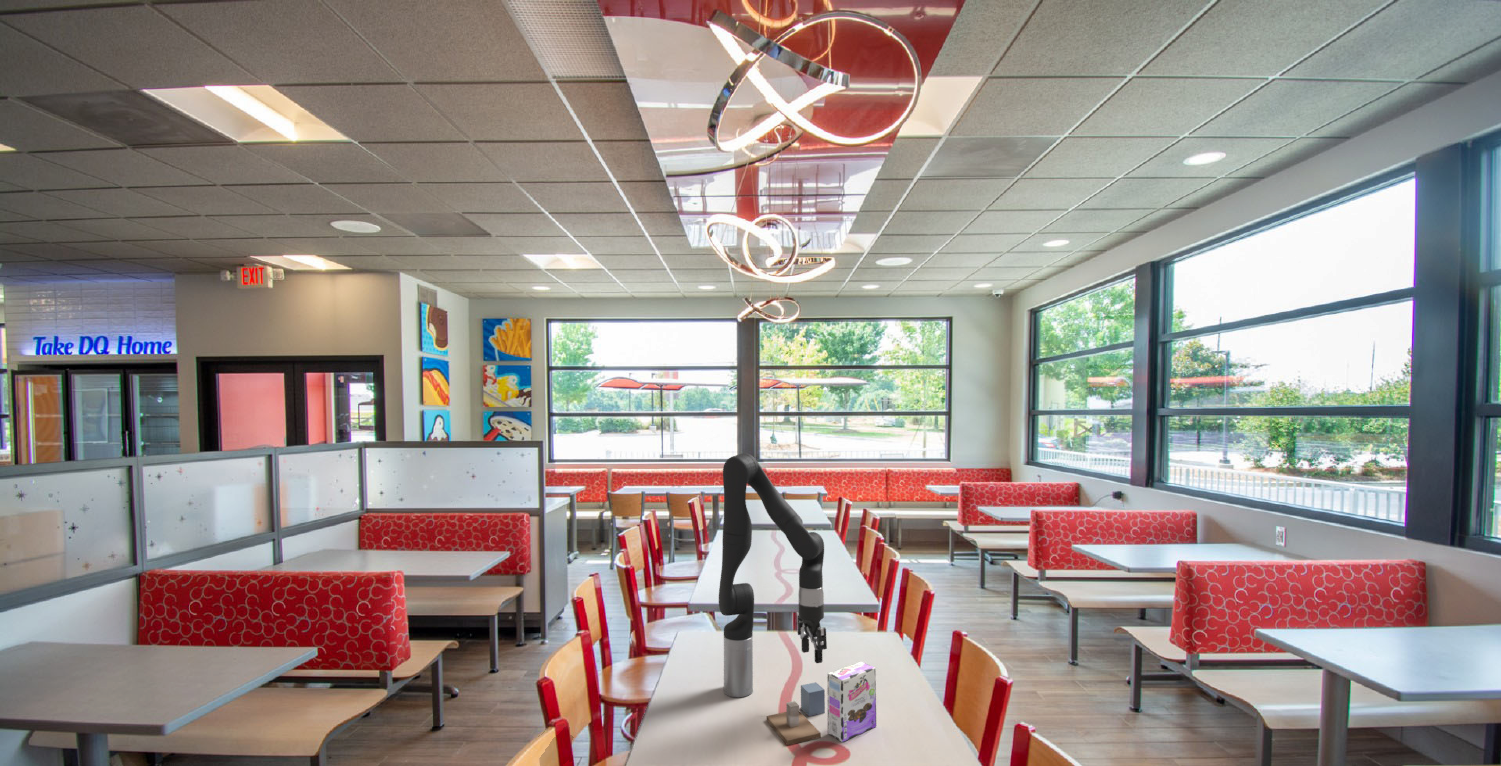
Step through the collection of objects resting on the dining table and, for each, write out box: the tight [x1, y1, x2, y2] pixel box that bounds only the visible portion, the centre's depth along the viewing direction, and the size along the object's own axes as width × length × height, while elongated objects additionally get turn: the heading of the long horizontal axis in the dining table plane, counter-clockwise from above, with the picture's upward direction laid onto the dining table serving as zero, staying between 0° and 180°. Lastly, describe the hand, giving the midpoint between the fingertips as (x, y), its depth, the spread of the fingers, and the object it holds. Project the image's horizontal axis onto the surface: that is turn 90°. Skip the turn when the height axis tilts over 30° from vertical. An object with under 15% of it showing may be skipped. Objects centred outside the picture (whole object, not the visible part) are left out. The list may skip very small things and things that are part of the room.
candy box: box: [827, 661, 877, 743], centre depth 165 cm, size 14×6×16 cm, turn 126°
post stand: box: [765, 700, 822, 746], centre depth 166 cm, size 14×10×7 cm
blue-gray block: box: [800, 682, 826, 717], centre depth 176 cm, size 5×5×7 cm
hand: (811, 657), depth 176 cm, fingers open, 8 cm apart
